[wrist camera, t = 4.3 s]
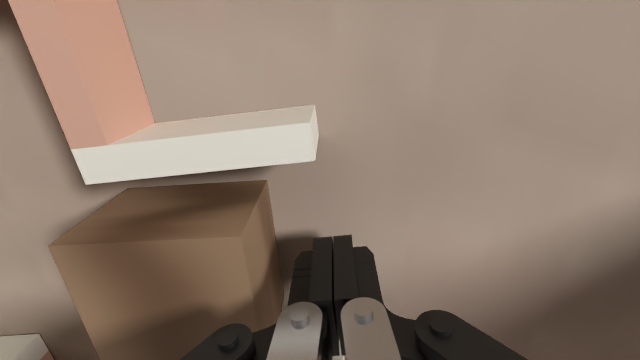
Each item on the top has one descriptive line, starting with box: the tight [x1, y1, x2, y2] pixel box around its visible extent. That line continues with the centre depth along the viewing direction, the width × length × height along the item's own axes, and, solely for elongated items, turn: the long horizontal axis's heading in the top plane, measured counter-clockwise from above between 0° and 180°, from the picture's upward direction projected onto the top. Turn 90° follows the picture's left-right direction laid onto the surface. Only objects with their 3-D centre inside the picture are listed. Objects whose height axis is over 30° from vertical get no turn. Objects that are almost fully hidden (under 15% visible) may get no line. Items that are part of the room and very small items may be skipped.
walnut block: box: [48, 180, 284, 360], centre depth 13 cm, size 6×6×4 cm
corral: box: [0, 0, 345, 360], centre depth 14 cm, size 24×24×3 cm
